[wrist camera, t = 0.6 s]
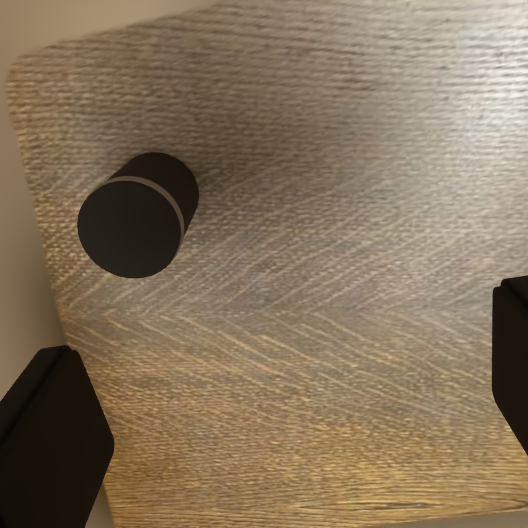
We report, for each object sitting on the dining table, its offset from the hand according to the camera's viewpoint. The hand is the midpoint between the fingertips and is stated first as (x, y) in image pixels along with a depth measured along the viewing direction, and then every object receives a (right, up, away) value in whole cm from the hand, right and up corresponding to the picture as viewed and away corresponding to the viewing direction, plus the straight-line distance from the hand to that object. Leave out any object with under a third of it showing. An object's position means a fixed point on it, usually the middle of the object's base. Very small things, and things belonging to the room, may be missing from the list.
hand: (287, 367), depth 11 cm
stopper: (-6, +6, +15) cm, 18 cm away
